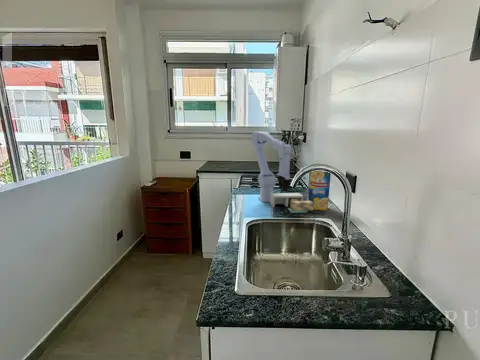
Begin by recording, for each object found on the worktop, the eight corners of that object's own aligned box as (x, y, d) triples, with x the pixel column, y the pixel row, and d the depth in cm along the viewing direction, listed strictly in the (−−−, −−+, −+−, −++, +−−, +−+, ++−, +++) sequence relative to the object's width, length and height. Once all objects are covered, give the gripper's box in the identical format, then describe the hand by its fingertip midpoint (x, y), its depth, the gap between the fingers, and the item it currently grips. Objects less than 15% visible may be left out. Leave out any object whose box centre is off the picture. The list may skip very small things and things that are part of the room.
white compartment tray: (269, 203, 162) (270, 193, 161) (298, 203, 165) (299, 192, 164) (272, 207, 156) (273, 196, 154) (302, 206, 158) (303, 195, 157)
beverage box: (327, 210, 152) (331, 171, 148) (307, 208, 154) (310, 170, 149) (325, 206, 159) (329, 169, 154) (306, 205, 160) (309, 169, 156)
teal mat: (287, 208, 153) (287, 207, 153) (302, 208, 154) (302, 207, 154) (291, 212, 146) (291, 211, 146) (307, 212, 147) (307, 211, 147)
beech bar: (310, 208, 153) (310, 200, 152) (313, 210, 149) (313, 202, 148) (289, 208, 151) (290, 200, 150) (292, 210, 147) (292, 203, 146)
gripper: (274, 164, 158) (273, 186, 161) (281, 168, 144) (279, 192, 147) (285, 164, 159) (284, 186, 162) (293, 168, 145) (292, 192, 148)
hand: (283, 189), depth 154 cm, fingers open, 7 cm apart
